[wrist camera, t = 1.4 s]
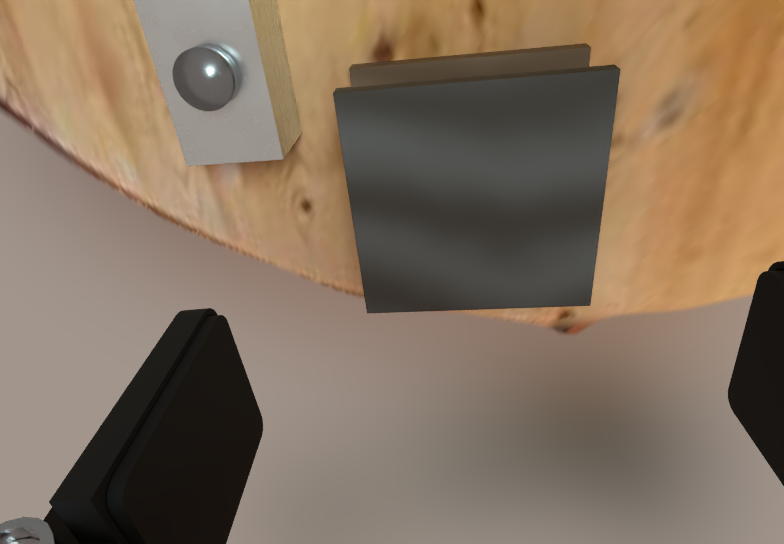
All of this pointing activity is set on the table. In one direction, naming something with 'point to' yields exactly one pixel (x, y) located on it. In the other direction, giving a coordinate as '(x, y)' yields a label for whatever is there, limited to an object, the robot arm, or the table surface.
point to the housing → (223, 77)
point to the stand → (478, 177)
